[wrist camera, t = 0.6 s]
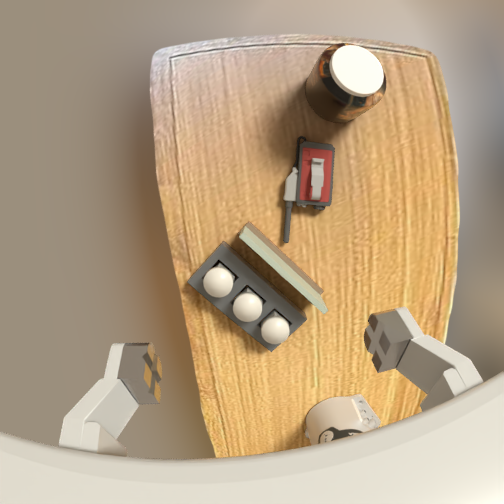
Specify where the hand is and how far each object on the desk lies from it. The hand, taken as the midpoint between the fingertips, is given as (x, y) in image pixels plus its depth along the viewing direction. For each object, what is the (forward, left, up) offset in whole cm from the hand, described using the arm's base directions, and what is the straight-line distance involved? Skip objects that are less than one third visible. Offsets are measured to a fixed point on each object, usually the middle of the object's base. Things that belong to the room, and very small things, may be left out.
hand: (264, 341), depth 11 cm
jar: (+5, -27, -47) cm, 54 cm away
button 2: (-17, +13, -45) cm, 49 cm away
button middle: (-10, +13, -45) cm, 48 cm away
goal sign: (-10, +4, -46) cm, 48 cm away
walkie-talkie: (-4, -9, -47) cm, 48 cm away
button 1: (-3, +13, -45) cm, 47 cm away
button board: (-10, +13, -46) cm, 49 cm away
